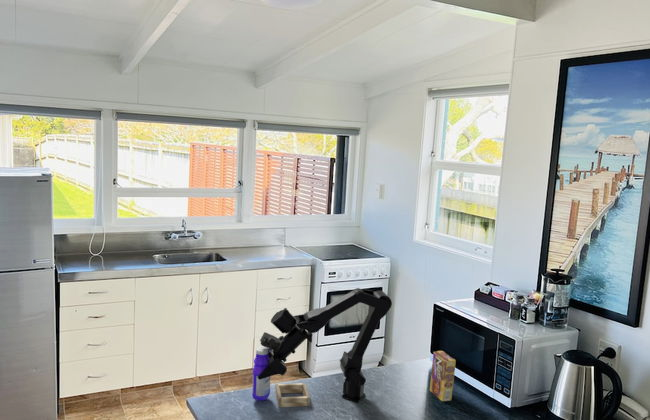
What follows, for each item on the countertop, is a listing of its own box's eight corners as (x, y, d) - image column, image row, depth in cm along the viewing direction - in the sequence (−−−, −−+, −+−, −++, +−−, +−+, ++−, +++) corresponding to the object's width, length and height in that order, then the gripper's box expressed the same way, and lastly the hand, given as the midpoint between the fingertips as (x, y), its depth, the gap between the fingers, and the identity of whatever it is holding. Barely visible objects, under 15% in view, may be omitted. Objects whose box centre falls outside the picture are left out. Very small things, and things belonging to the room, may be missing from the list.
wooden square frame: (304, 391, 199) (305, 383, 198) (309, 405, 188) (309, 397, 188) (275, 392, 196) (275, 384, 196) (278, 407, 186) (278, 398, 186)
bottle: (265, 403, 186) (267, 354, 183) (249, 400, 187) (251, 351, 184) (272, 393, 193) (273, 345, 190) (256, 390, 194) (258, 343, 191)
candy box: (452, 400, 198) (456, 360, 196) (442, 402, 196) (446, 361, 194) (439, 389, 206) (443, 350, 204) (429, 390, 205) (432, 351, 202)
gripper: (272, 316, 196) (239, 347, 195) (278, 336, 178) (242, 370, 177) (293, 337, 199) (261, 367, 198) (301, 358, 181) (266, 392, 180)
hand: (257, 373), depth 188 cm, fingers closed on bottle, 7 cm apart
